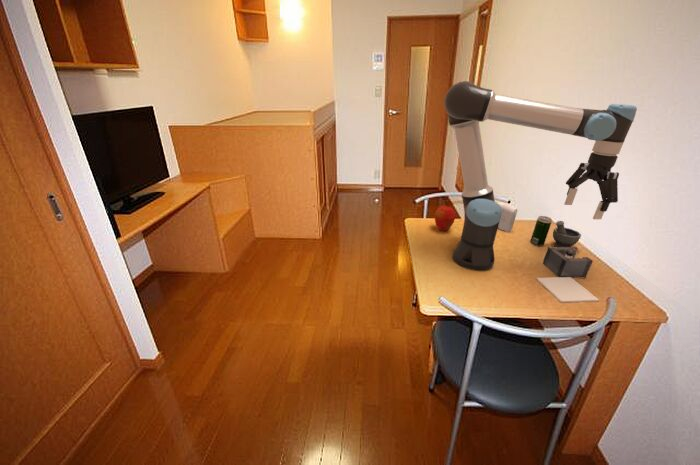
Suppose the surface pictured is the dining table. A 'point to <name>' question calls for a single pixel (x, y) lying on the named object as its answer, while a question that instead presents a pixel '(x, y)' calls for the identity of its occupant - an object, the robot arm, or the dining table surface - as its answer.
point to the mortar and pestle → (565, 236)
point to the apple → (444, 217)
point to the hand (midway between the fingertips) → (581, 211)
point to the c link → (566, 263)
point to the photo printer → (507, 217)
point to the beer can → (541, 230)
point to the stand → (569, 253)
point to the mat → (566, 289)
